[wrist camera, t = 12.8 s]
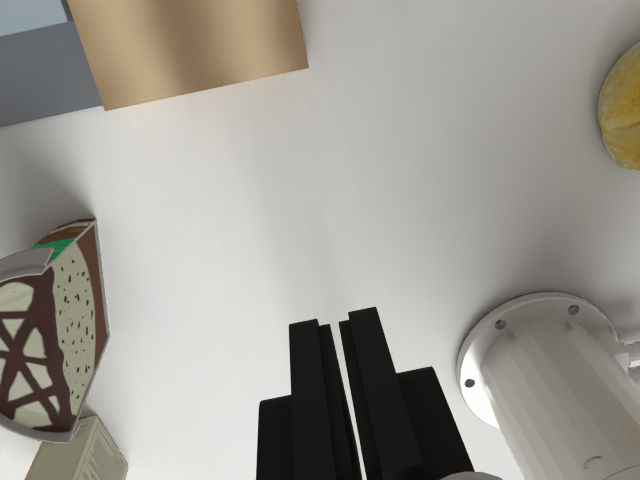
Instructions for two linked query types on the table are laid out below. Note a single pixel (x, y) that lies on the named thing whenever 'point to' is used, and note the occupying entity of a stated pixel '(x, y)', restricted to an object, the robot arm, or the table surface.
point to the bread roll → (622, 110)
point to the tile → (32, 14)
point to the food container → (51, 332)
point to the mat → (44, 74)
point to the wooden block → (185, 45)
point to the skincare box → (80, 456)
